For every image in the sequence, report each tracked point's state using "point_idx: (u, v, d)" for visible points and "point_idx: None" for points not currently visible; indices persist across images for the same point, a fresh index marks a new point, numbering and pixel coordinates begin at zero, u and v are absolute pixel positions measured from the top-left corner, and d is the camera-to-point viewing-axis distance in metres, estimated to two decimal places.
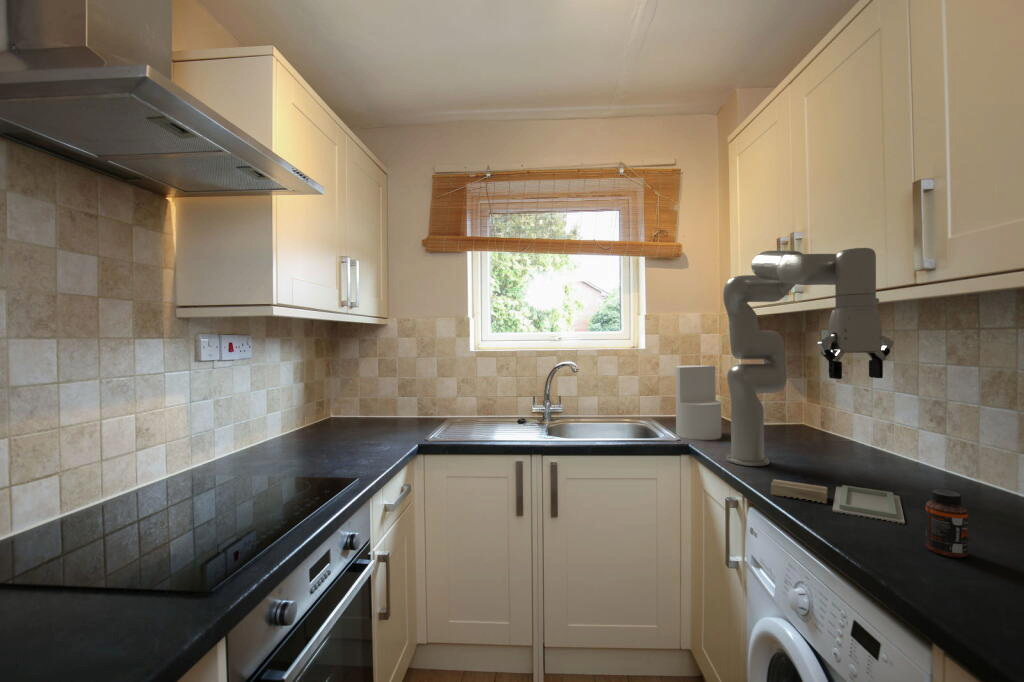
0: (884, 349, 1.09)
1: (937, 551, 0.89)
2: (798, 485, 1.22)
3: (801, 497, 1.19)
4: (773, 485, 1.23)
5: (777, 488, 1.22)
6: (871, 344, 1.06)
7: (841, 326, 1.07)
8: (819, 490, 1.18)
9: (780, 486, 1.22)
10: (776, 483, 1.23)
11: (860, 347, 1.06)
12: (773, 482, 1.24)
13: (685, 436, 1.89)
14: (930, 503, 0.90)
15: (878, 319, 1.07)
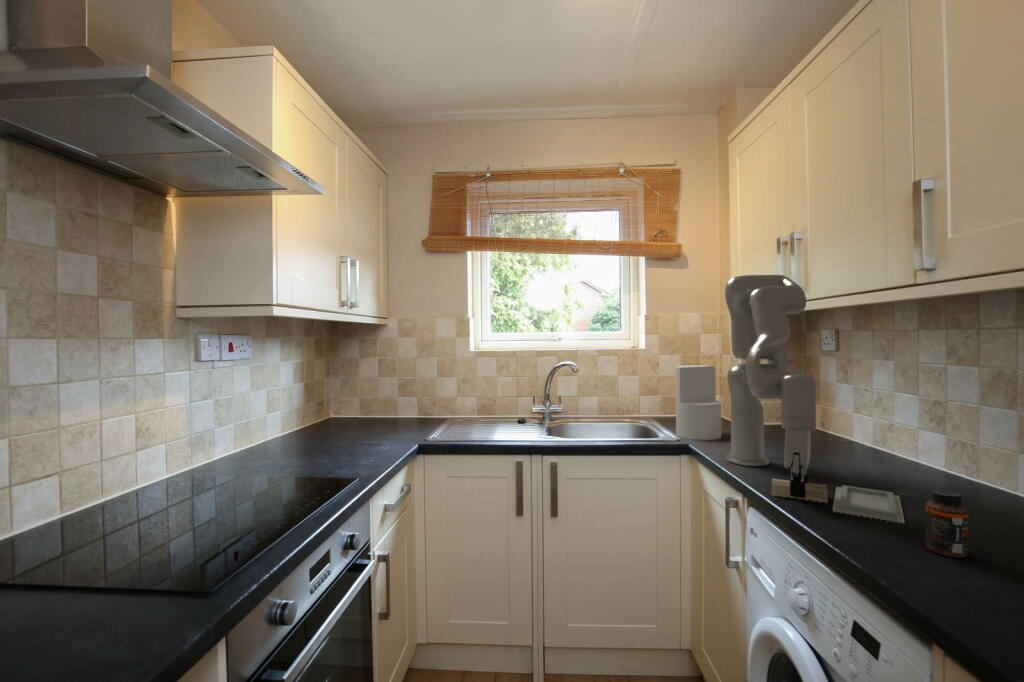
0: None
1: (937, 551, 0.89)
2: None
3: None
4: (774, 484, 1.22)
5: (778, 488, 1.21)
6: None
7: (804, 447, 1.16)
8: (820, 488, 1.18)
9: (781, 485, 1.21)
10: (776, 483, 1.22)
11: (808, 463, 1.19)
12: (773, 482, 1.23)
13: (685, 436, 1.89)
14: (930, 503, 0.90)
15: None
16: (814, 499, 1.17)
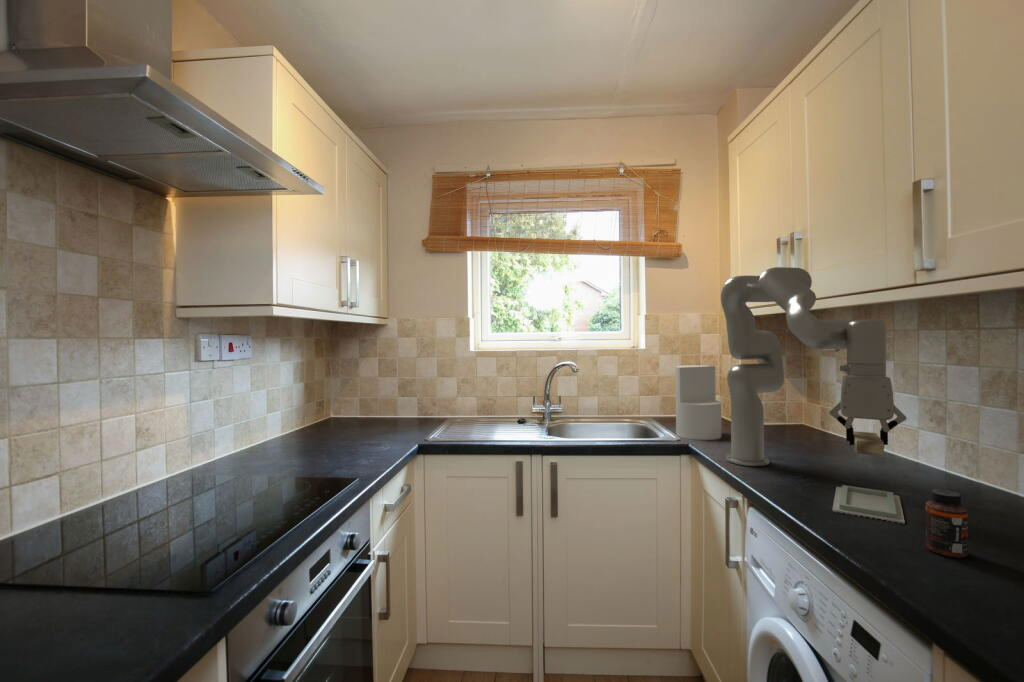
0: (842, 417, 1.18)
1: (937, 551, 0.89)
2: (866, 436, 1.14)
3: None
4: None
5: None
6: None
7: None
8: (871, 433, 1.17)
9: None
10: (876, 441, 1.09)
11: None
12: (873, 441, 1.09)
13: (685, 436, 1.89)
14: (930, 503, 0.90)
15: None
16: None
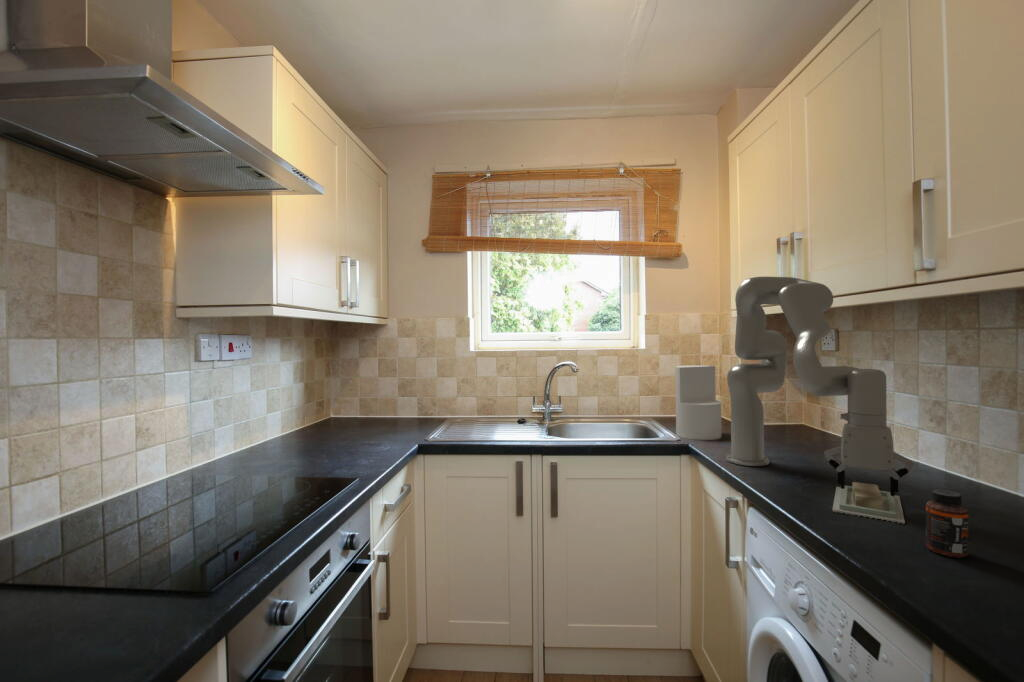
0: None
1: (937, 551, 0.89)
2: (866, 490, 1.15)
3: None
4: None
5: None
6: None
7: None
8: (872, 485, 1.18)
9: None
10: (876, 497, 1.10)
11: None
12: (872, 497, 1.10)
13: (685, 436, 1.89)
14: (930, 503, 0.90)
15: None
16: None
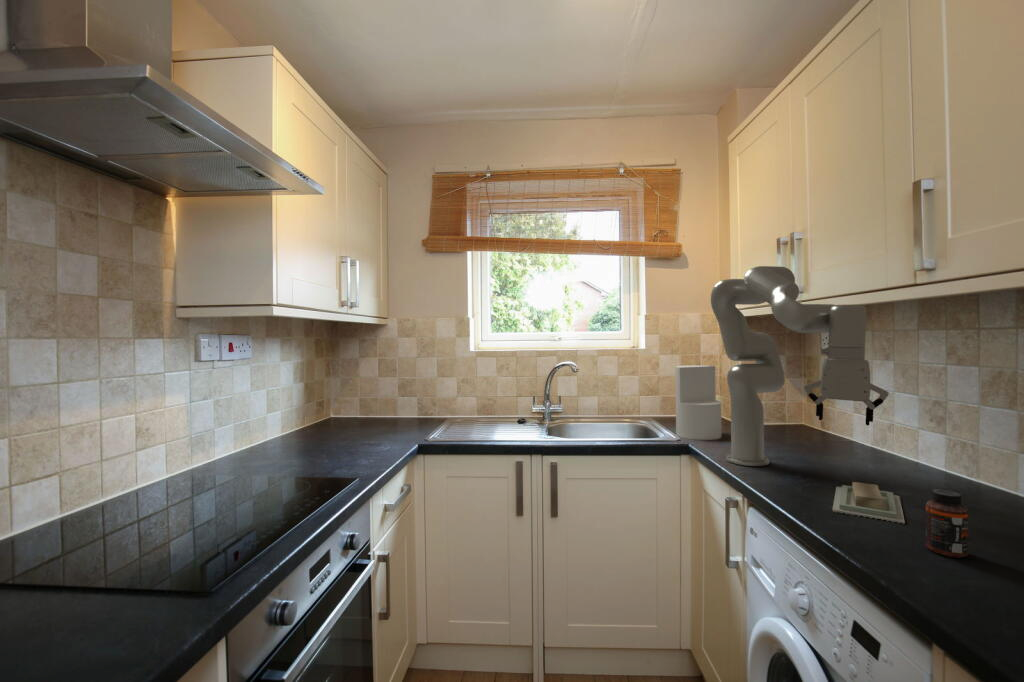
0: (813, 393, 1.23)
1: (936, 551, 0.89)
2: (866, 490, 1.15)
3: None
4: None
5: None
6: None
7: None
8: (872, 485, 1.18)
9: None
10: (876, 497, 1.10)
11: None
12: (872, 497, 1.10)
13: (685, 436, 1.89)
14: (930, 503, 0.91)
15: None
16: None
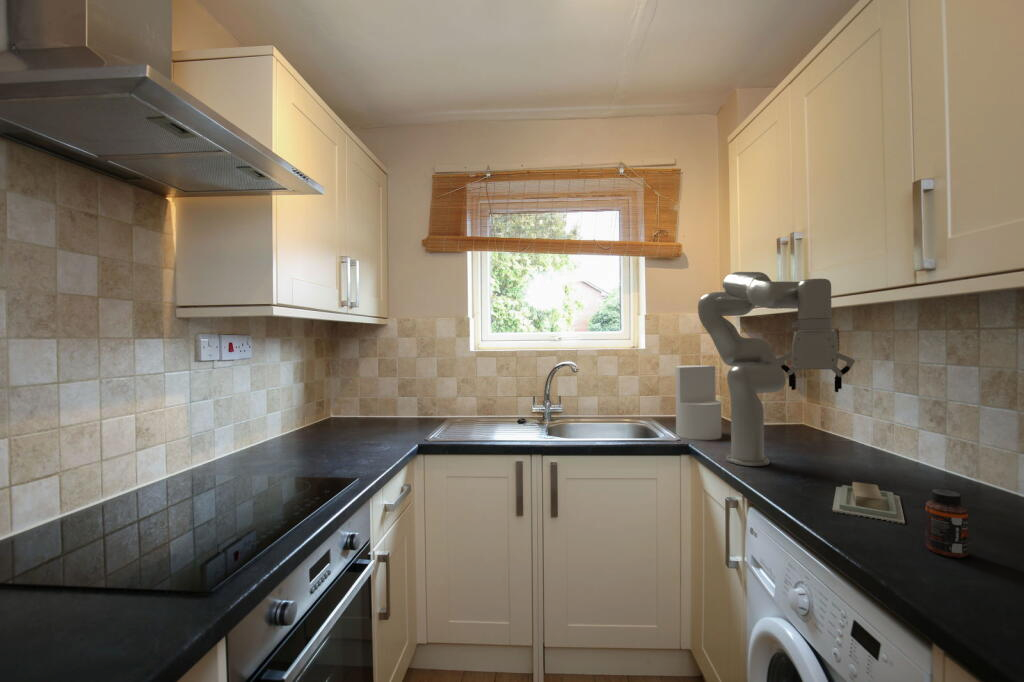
0: (786, 365, 1.30)
1: (936, 551, 0.89)
2: (866, 490, 1.15)
3: None
4: None
5: None
6: None
7: None
8: (872, 485, 1.18)
9: None
10: (876, 497, 1.10)
11: None
12: (872, 497, 1.10)
13: (685, 436, 1.89)
14: (930, 503, 0.90)
15: None
16: None
